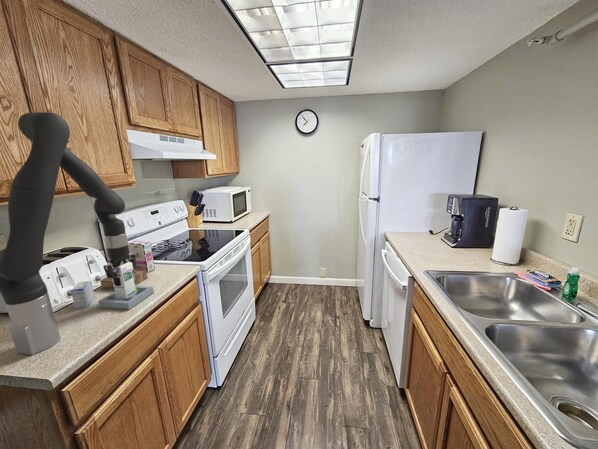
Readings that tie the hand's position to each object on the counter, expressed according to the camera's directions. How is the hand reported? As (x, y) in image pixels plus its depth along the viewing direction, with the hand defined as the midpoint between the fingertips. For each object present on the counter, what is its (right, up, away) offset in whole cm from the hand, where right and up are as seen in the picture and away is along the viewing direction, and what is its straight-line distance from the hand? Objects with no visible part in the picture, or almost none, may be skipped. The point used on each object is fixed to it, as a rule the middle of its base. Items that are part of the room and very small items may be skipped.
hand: (124, 282), depth 108 cm
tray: (0, -8, +2) cm, 8 cm away
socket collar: (-12, -5, +18) cm, 22 cm away
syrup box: (0, -6, +1) cm, 6 cm away
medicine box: (-16, -9, 0) cm, 19 cm away
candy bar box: (-12, -1, +34) cm, 36 cm away
